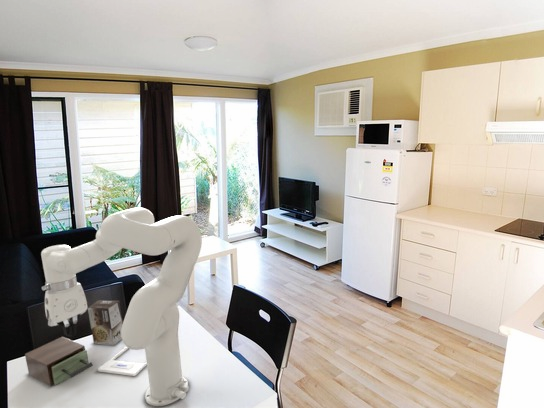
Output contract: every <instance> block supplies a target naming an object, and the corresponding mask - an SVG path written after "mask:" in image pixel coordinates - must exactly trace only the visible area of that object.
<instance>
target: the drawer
mask: <svg viewBox="0 0 544 408" xmlns="http://www.w3.org/2000/svg"><path fill="white" fill-rule="evenodd" d="M93 366H94V364H93V363H92V362H91V361H90V360H89V355H88V350H86V349H85V350H84V351H82V352H81V350H79V351H78V352H76V353H74V354H72V355H70V356H68V357H66V358H64V359H62V360H60V361H58V362H56V363H54V364H52V365H50V369H51V374H52V379H53V380H54V385H55V386H56V385H59V384H61V383H62V382H64V381H66V380H67V379H70V378H73V377H75V376H78V375H79V374H81V373H82V372H84V371H86V370H88V369H90V368H92V367H93Z"/></svg>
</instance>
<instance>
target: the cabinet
mask: <svg viewBox="0 0 544 408" xmlns="http://www.w3.org/2000/svg"><path fill="white" fill-rule="evenodd" d="M79 350H81V352H82V351H84V350H86V346H85V345H84V344H81V343H79V342H77V341H74V340H72V339H70V338H67V337H65V336H61V337H58V338H56V339H54V340H52V341H50V342H48V343H45V344H43V345H41V346H38V347H37V348H35V349H32V350H30V351H28V352H26V353H24V356H25V362H26V367H27V371H28V375H29V376H31V377H33V378H34V379H36V380H39V381H40V382H41V383H44V384H45V385H47V386H49V387H53V386H54V385H55V384H54V380H53V379H52V374H51V369H50V365H52V364H54V363H56V362H58V361H60V360H62V359H64V358H66V357H68V356H70V355H72V354H74V353H76V352H78V351H79Z"/></svg>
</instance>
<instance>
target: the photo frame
mask: <svg viewBox="0 0 544 408" xmlns="http://www.w3.org/2000/svg"><path fill="white" fill-rule="evenodd" d="M127 350H129V348H128V347H127V346H126V345H125V346H124V347H123V348H122V349H121V350H119V351H118V352H117V353H115V355H113V356H112V357H111V358H109V359H108V360H107V361H106V362H105V363H103V364H102V365H101V366H99V367H98V368H97V372H100V373H107V374H114V375H115V374H116V375H122V376H123V375H124V376H131V377H132V376H133V377H136V376H137V375H138V374H139V373H140V372H141V371H142V370H143V369H144V368H145V367H147V361H146V360H145V362H144V363H142V362H134V361H126V360H117V358H118V357H119V356H121V355H122V354H123V353H125V352H126V351H127Z"/></svg>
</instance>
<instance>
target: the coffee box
mask: <svg viewBox="0 0 544 408" xmlns="http://www.w3.org/2000/svg"><path fill="white" fill-rule="evenodd" d="M87 312H88V318H89V325H90V329H91V336H92V341H93V344H94V345H104V346H105V345H106V346H115V345H117V344H118V343H119V342H120V341H122V337H121V328H122V324H123V316H122V309H121V302H120V300H107V299H106V300H105V299H99V300H97V301H96V302H94V303H93V304H91V305H89V306H87Z"/></svg>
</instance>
